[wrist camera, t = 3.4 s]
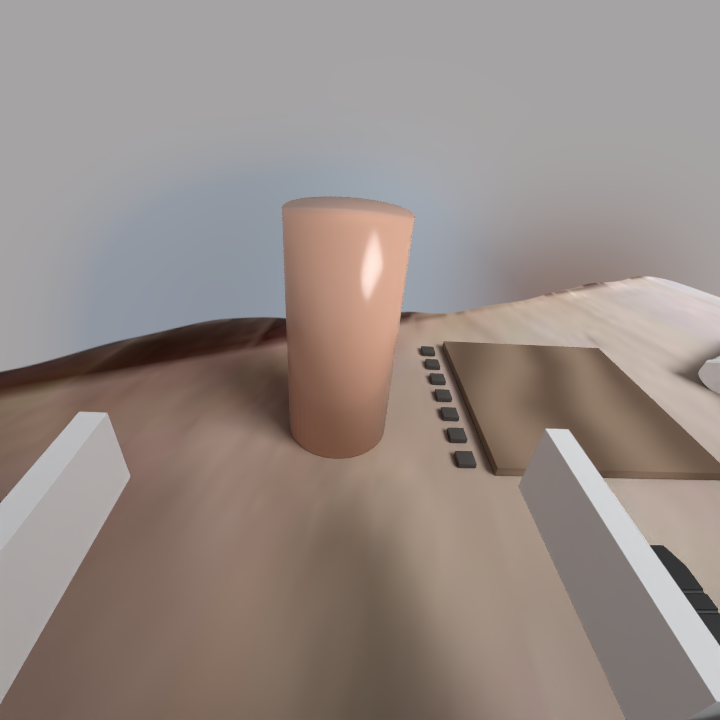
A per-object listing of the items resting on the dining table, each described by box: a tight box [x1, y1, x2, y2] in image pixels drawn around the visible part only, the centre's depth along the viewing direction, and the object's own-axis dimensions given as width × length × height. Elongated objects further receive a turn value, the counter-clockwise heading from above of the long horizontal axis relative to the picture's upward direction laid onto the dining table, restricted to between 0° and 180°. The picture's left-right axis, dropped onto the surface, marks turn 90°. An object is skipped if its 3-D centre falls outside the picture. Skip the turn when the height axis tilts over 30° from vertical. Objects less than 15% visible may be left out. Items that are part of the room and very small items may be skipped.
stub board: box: [421, 341, 720, 480], centre depth 28 cm, size 16×14×1 cm
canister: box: [282, 197, 415, 458], centre depth 21 cm, size 6×6×13 cm
